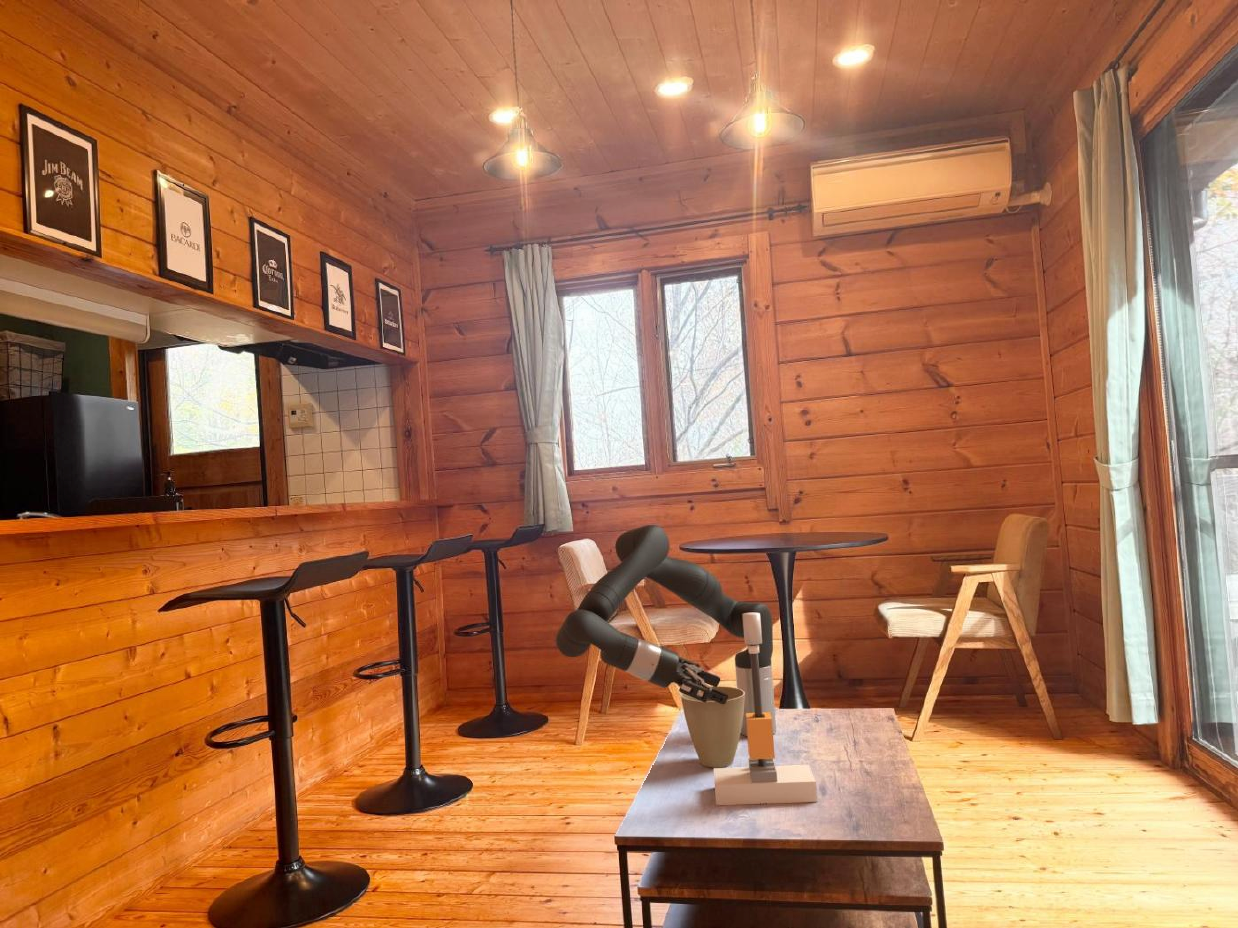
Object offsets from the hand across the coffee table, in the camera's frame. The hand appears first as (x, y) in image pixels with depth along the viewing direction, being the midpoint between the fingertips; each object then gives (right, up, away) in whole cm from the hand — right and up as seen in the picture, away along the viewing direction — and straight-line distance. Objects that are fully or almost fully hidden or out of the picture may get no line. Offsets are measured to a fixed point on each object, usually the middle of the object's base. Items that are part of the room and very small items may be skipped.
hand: (722, 690), depth 173 cm
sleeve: (+8, -13, -1) cm, 15 cm away
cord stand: (+8, -21, -1) cm, 23 cm away
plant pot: (+1, -22, +21) cm, 31 cm away
